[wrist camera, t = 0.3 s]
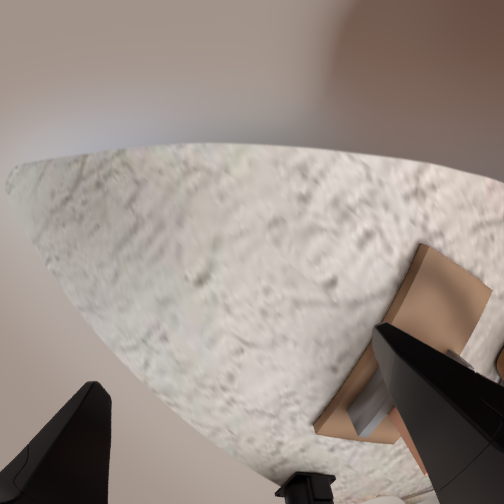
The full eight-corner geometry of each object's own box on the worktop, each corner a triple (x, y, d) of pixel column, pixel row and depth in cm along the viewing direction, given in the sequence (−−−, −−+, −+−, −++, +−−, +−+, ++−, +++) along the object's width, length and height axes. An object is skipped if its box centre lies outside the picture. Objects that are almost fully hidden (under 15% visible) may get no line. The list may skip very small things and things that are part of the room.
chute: (389, 437, 28) (404, 464, 23) (313, 425, 27) (323, 460, 22) (484, 286, 25) (515, 301, 20) (420, 243, 24) (456, 254, 19)
